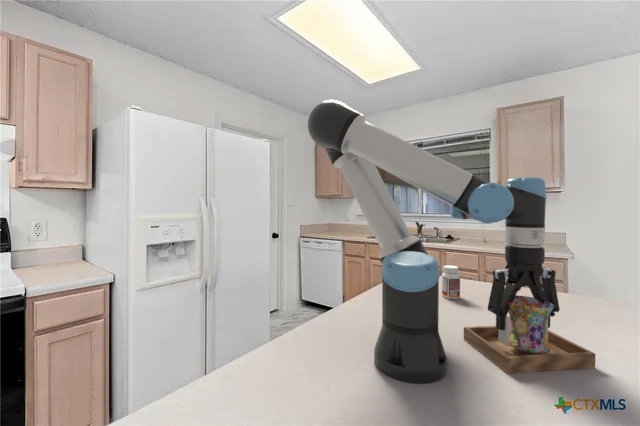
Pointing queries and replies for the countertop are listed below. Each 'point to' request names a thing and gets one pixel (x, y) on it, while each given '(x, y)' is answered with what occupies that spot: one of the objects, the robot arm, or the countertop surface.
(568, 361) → the tray
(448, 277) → the pill bottle
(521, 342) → the mug
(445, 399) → the countertop surface
